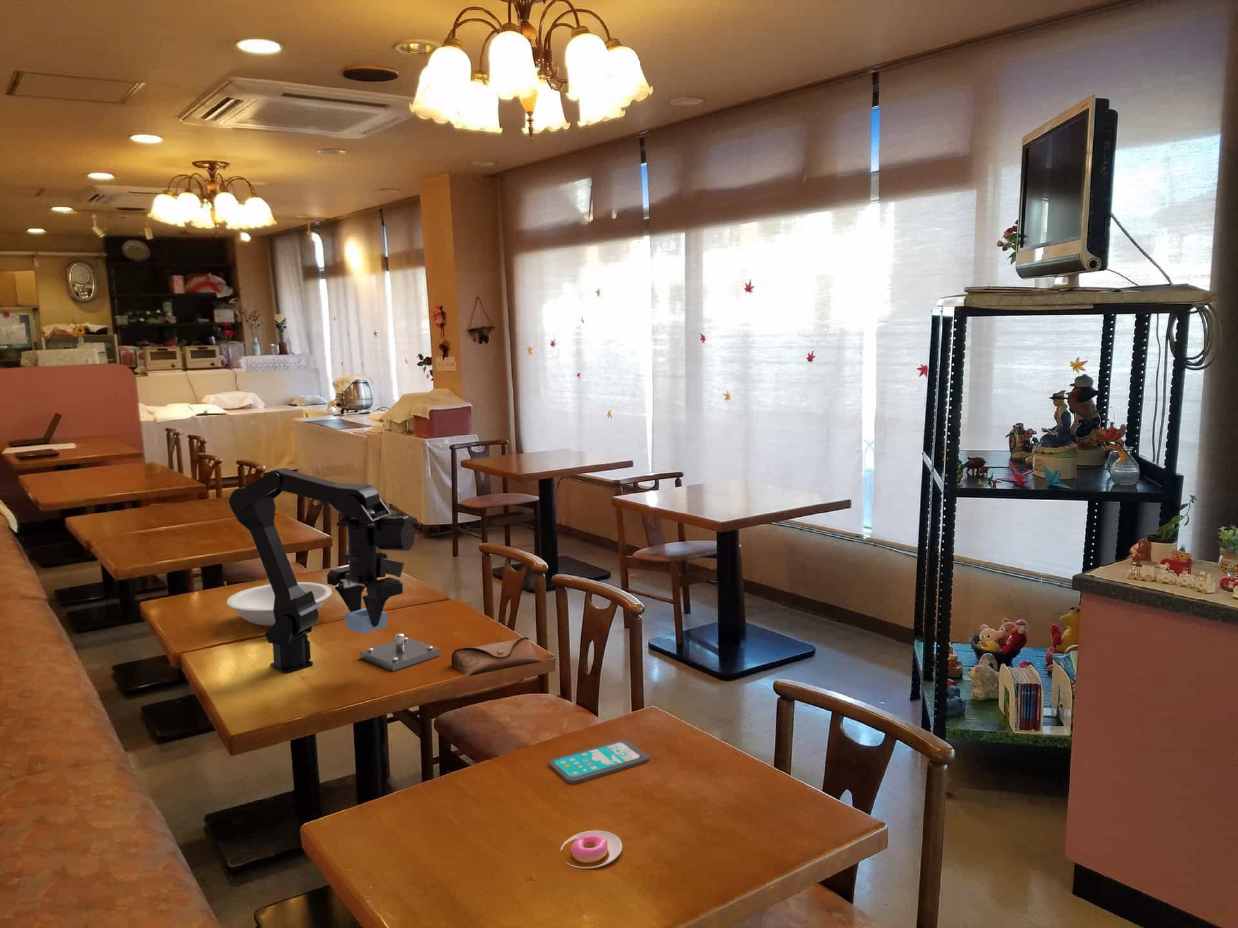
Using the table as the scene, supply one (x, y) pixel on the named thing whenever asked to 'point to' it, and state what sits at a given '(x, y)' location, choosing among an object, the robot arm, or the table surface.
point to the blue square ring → (363, 621)
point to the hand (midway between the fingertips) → (366, 622)
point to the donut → (594, 847)
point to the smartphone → (598, 761)
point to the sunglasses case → (494, 656)
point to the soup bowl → (269, 601)
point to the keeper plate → (399, 653)
